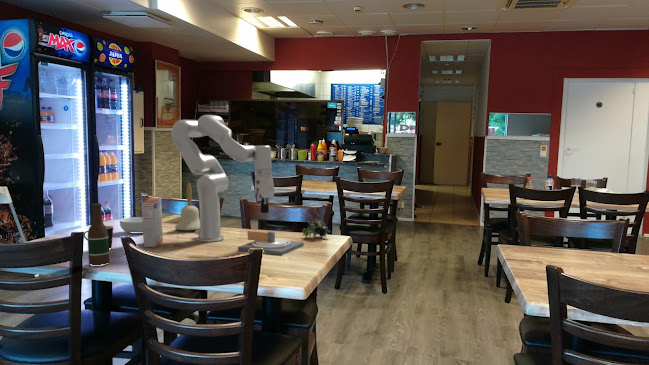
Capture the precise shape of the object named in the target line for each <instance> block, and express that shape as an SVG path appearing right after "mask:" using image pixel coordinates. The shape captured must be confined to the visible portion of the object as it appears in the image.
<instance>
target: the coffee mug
mask: <svg viewBox="0 0 649 365" xmlns="http://www.w3.org/2000/svg"><path fill="white" fill-rule="evenodd" d="M105 227H106V229H107V231H108V237H109V248H111V247H113V236H114V235H113V232H114V226H112V225H105ZM86 233H88V230H85V231H84V232H83V235H84V236H83V237H84V239H85V240H86V241H87V242H88V237H86Z"/></svg>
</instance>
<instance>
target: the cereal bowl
mask: <svg viewBox="0 0 649 365" xmlns="http://www.w3.org/2000/svg"><path fill="white" fill-rule="evenodd" d="M119 226H120V229H122V230H123V231H125V232H127V233H129V232H143V219H142V217H141V216H140V217H139V216H137V217H135V216H133V217H126V218H124V217H123V218H121V219H120V220H119Z"/></svg>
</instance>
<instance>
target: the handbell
mask: <svg viewBox="0 0 649 365" xmlns="http://www.w3.org/2000/svg"><path fill="white" fill-rule="evenodd" d="M192 192H193V191H192V185H191V183H187V184H186V200H187V205H185V206H182V208H181V210H180V220H179V222H178V223H177V224H176V225H175V226H174V227H175V229H176V230H180V231H193V230H195V231H196V230H200V210H199V208H198V207H196V206H195V205H192V200H193V199H192V197H193V196H192V195H193V194H192Z"/></svg>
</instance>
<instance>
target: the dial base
mask: <svg viewBox="0 0 649 365" xmlns="http://www.w3.org/2000/svg"><path fill="white" fill-rule="evenodd" d="M283 240H286V241H287V244H285V245H283V246H271V247H267V246H258V245H256V241H255V240H252V241H250V242H248V243H244V244H243V245H239V246H237V251H239V252H240V251H242V252H249V251H248V250H249V249H250V248H263V250H264V252H265V253H264V254H266V253H270V254H269V255H275V254H278V255H277V256H283V254H284V255H285V253H286V254H288V253H291V252H292V251H294V250H295V251H296V250H298V249H299V248H302V247H304V244H305V243H304V242H303V241H302V242H300V241H293V240H289V239H283ZM287 252H288V253H287Z"/></svg>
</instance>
